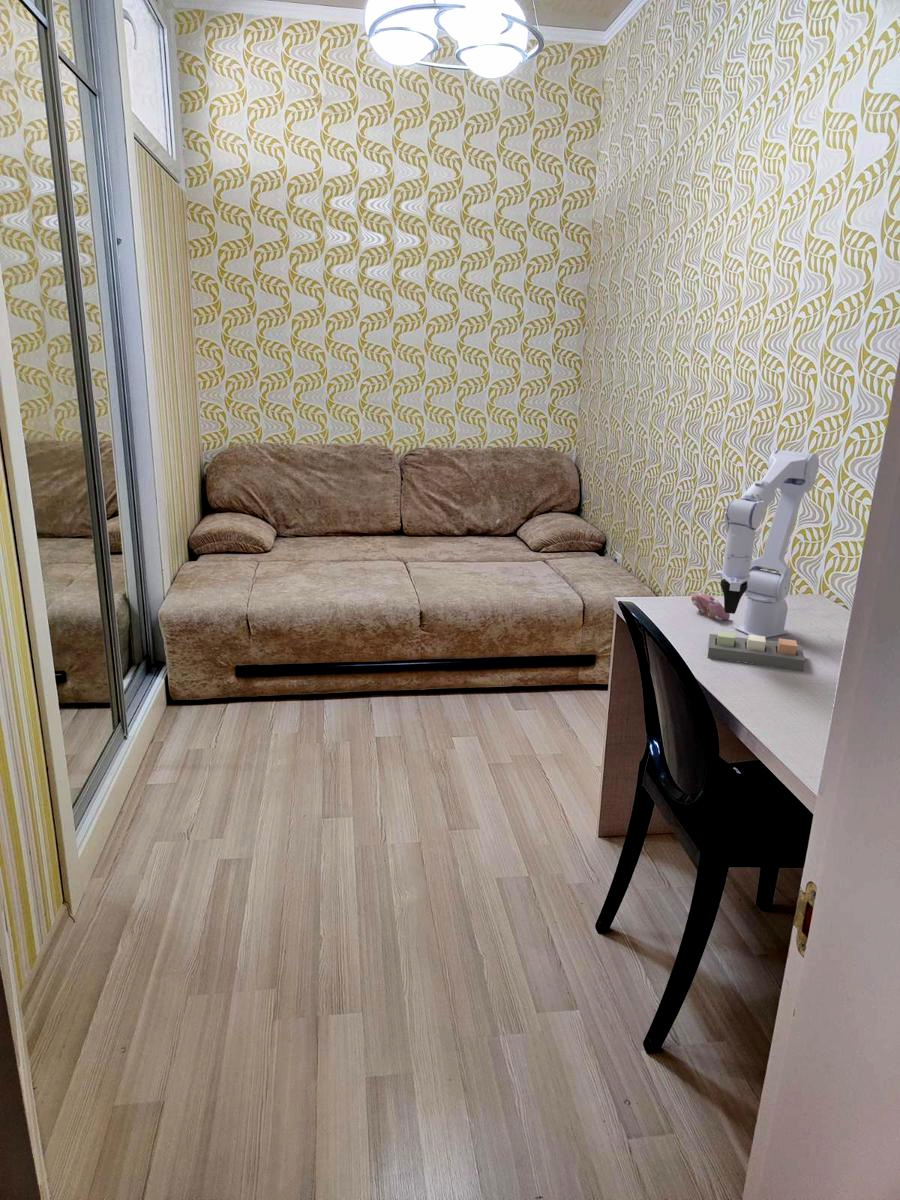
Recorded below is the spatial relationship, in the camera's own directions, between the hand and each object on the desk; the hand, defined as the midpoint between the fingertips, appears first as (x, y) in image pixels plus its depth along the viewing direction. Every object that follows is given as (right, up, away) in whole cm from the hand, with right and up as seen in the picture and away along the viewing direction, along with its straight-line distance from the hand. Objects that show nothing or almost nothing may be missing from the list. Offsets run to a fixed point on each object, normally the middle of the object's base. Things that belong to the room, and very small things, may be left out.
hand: (729, 612), depth 179 cm
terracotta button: (+12, -9, -1) cm, 15 cm away
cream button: (+6, -9, +1) cm, 11 cm away
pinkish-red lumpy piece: (+4, -1, +27) cm, 27 cm away
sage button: (0, -8, +3) cm, 8 cm away
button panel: (+6, -10, +1) cm, 12 cm away
